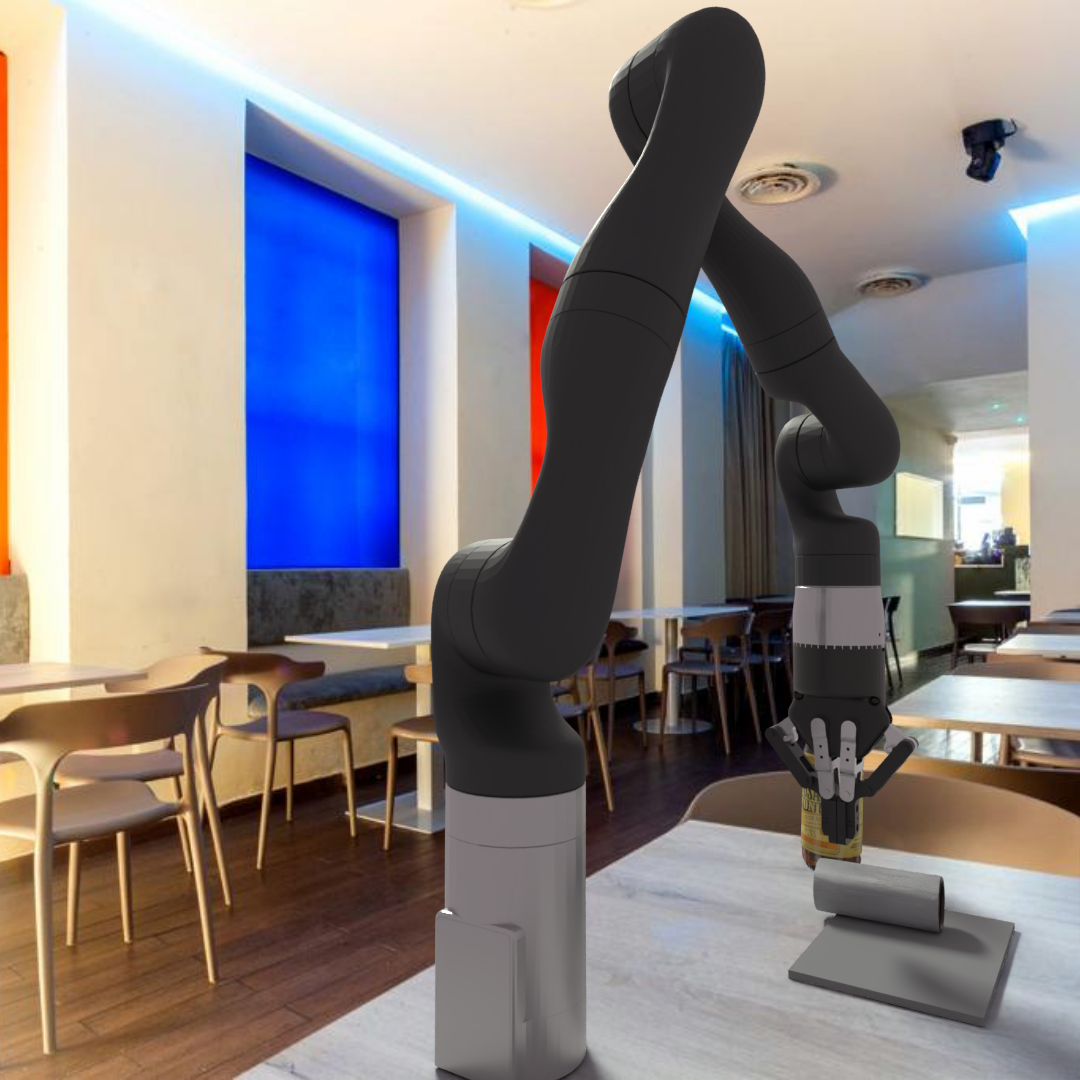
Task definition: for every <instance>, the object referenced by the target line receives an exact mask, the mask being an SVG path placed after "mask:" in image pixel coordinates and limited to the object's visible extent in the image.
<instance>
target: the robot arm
mask: <svg viewBox="0 0 1080 1080" xmlns="http://www.w3.org/2000/svg"><path fill="white" fill-rule="evenodd" d="M754 29H755V28H753V26H752V25H751V23H750V22H749V21H748V19H746V18H745V17H744V16H743V15H741V14H740V13H739V12H738V11H735V10H733V9H731V8H728V7H723V6H708V7H702V8H701V9H697V10H696V11H693V12H690V13H688V14H686V15H684V16H683V17H681V18H680V19H678V20H676V21H675V22H673V23H672V24H670V25H669V26H668V27H667V28H666V29H664V30H663V31H662V32H661V33H659V34H658V35H657V36H656V37H654V38H653V39H652V40H651V41H650V42H648V43H647V44H646V45H644V46H643V47H642V48H640V49H639V50H637V52H636V53H634V54H633V55H632V56H630V57H629V58H628V59H627V60H625V61H624V62H623V63H622V65H621V66H620V67H619V68H618V69H617V70H616V72H615V73H614V75H613V77H612V79H611V82H610V85H609V88H608V96H607V99H608V111H609V113H608V114H609V117H610V120H611V122H612V123H611V124H612V126H613V129H614V132H615V133H616V136H617V138H618V142H619V143H620V144H621V147H622V149H623V151H624V152H625V154H626V156H627V158H628V159H629V160H630V162H631V164H632V166H633V169H632V171H631V172H630V174H629V175H628V177H627V178H626V179H625V180H624V183H623V184H622V185H621V187H620V188H619V190H618V191H617V192H616V193H615V195H614V197H613V198H612V200H611V201H610V202H609V203H608V204H607V206H606V208H605V209H604V210H603V212H602V213H601V215H600V216H599V218H597V220H596V222H595V223H594V224H593V226H592V228H591V229H590V231H589V232H588V234H587V236H586V237H585V239H584V240H583V242H582V244H581V246H580V247H579V249H578V250H577V252H576V254H575V255H574V257H573V258H572V260H571V263H570V264H569V267H568V269H567V271H566V273H565V275H564V278H563V281H562V283H561V286H560V289H559V292H558V294H557V297H556V301H555V303H554V307H553V309H552V313H551V315H550V318H549V320H548V324H547V326H546V330H545V335H544V337H543V338H544V339H543V342H542V346H541V351H540V359H539V360H540V361H539V363H540V364H539V370H540V371H539V373H540V375H539V376H540V383H541V384H540V385H541V394H542V401H543V402H542V403H543V408H544V415H545V427H546V438H545V439H546V442H545V448H544V449H545V450H544V455H543V460H542V463H541V467H540V471H539V474H538V478H537V480H536V483H535V485H534V489H533V492H532V494H531V497H530V501H529V503H528V506H527V507H526V508H527V509H526V511H525V513H524V516H523V518H522V521H521V522H520V525H519V527H518V529H517V531H516V533H515V535H514V537H505V538H504V537H502V538H490V539H484V540H479V541H474V542H472V543H469V544H467V545H465V546H464V547H462V548H461V549H460V548H459V550H457V552H455V553H454V554H453V555H452V556H451V557H450V558H449V559H448V561H447V562H446V563H445V565H444V566H443V568H442V569H441V572H440V574H439V577H438V579H437V581H436V585H435V588H434V591H433V597H432V603H431V612H430V613H431V614H430V615H431V616H430V653H431V654H430V656H431V683H432V684H431V685H432V688H431V689H432V707H433V708H432V710H433V711H432V713H433V724H434V729H435V734H436V737H437V740H438V742H439V745H440V748H441V750H442V753H443V757H444V758H443V759H444V764H445V765H444V766H445V768H444V769H445V770H444V771H445V774H444V775H445V776H444V777H445V817H444V818H445V821H444V822H445V823H444V824H445V827H444V828H445V829H444V830H445V831H444V836H445V837H444V840H445V841H444V908H442V909H441V910H439V911H437V913H436V915H435V919H434V920H435V924H434V925H435V927H434V929H435V933H434V937H435V939H434V940H435V941H434V943H435V945H434V947H435V948H434V956H435V957H434V976H435V977H434V1066H435V1067H437V1068H440V1069H443V1070H445V1071H448V1072H449V1073H453V1074H454V1075H458V1076H460V1077H461V1078H465V1079H468V1080H560V1079H561V1078H563V1077H566V1076H567V1075H569V1074H570V1073H572V1072H573V1071H574V1070H575V1069H577V1068H578V1067H579V1066H581V1063H582V1062H583V1061H584V1059H585V1057H586V1052H587V889H586V887H587V886H586V885H587V883H586V882H587V880H586V878H587V875H586V874H587V868H586V867H587V866H586V865H587V862H586V861H587V859H586V857H587V853H586V852H587V850H586V848H587V847H586V844H587V843H586V841H587V839H586V838H587V837H586V836H587V835H586V833H587V832H586V828H587V825H586V823H587V816H586V815H587V814H586V813H587V810H586V806H587V800H586V799H587V797H586V794H587V793H586V792H587V791H586V790H587V789H586V788H587V786H586V785H587V782H586V781H587V760H586V759H587V756H586V755H587V754H586V753H587V752H586V746H585V743H584V741H583V739H582V737H581V736H580V734H578V732H577V731H576V730H575V729H574V728H573V727H572V726H571V725H570V724H569V723H568V721H566V719H565V718H564V717H563V716H562V714H561V713H560V711H559V709H558V707H557V705H556V703H555V699H554V698H553V694H552V687H551V686H552V685H551V683H555V682H559V681H560V682H561V681H564V680H566V679H568V678H570V677H572V676H574V675H575V674H577V673H578V672H580V671H581V670H582V669H583V668H585V666H586V665H587V664H588V663H589V662H590V661H591V660H592V659H593V657H594V655H595V654H596V652H597V650H598V649H599V647H600V646H601V643H602V641H603V639H604V638H605V634H606V632H607V629H608V626H609V623H610V621H611V616H612V611H613V608H614V604H615V603H614V602H615V599H616V595H617V589H618V585H619V580H620V573H621V568H622V563H623V558H624V557H623V556H624V552H625V547H626V546H625V545H626V541H627V536H628V531H629V525H630V520H631V515H632V509H633V505H634V500H635V496H636V495H635V494H636V491H637V487H638V484H639V481H640V480H639V479H640V476H641V472H642V468H643V466H644V465H643V464H644V462H645V458H646V454H647V450H648V447H649V444H650V439H651V437H652V436H651V435H652V434H653V433H652V432H653V429H654V424H655V421H656V418H657V413H658V410H659V408H660V404H661V400H662V397H663V394H664V391H665V388H666V385H667V383H668V379H669V377H670V373H671V372H672V369H673V365H674V362H675V359H676V355H677V353H678V348H679V346H680V341H681V339H682V335H683V332H684V329H685V326H686V321H687V318H688V314H689V310H690V304H691V303H692V298H693V294H694V290H695V288H696V284H697V281H698V278H699V276H700V272H701V271H703V273H704V274H705V276H706V278H707V279H708V281H709V282H710V284H711V285H712V287H713V289H714V291H715V293H716V294H717V295H718V298H719V300H720V302H721V304H722V305H723V307H724V308H725V311H726V313H727V314H728V315H727V316H728V317H729V319H730V321H731V323H732V325H733V327H734V330H735V332H736V334H737V336H738V338H739V340H740V343H741V345H742V347H743V350H744V351H745V352H744V353H745V354H746V356H747V359H748V361H749V363H750V365H751V367H752V369H753V371H754V372H755V373H754V374H755V375H756V378H757V380H758V382H759V384H760V386H761V388H762V389H763V391H764V393H765V394H766V395H767V396H768V397H769V398H771V399H774V400H778V401H785V402H793V403H798V404H800V405H802V406H804V407H806V408H807V409H808V410H809V412H810V413H809V412H808V413H804V414H799V415H798V416H795V417H793V418H791V419H790V420H789V421H788V422H786V423H785V425H784V426H783V428H782V429H781V430H780V433H779V435H778V437H777V441H776V444H775V448H774V460H773V461H774V468H775V474H776V478H777V481H778V485H779V490H780V493H781V496H782V500H783V503H784V506H785V512H786V514H787V519H788V522H789V525H790V527H791V531H792V534H793V537H794V543H795V547H794V555H795V556H794V567H795V568H794V569H795V570H794V574H795V576H794V577H795V578H794V580H795V581H794V583H795V587H794V588H795V589H794V601H793V605H792V606H793V608H792V655H793V656H792V657H793V659H792V662H793V663H792V664H793V667H792V669H793V673H792V674H793V679H792V680H793V699H792V702H791V704H790V706H789V707H788V713H787V714H788V716H787V717H786V718H784V719H783V720H782V721H780V722H778V723H777V724H774V725H773V726H770V727H768V728H766V730H765V731H764V736H765V739H766V740H767V741H768V743H769V744H770V745H771V747H772V748H773V750H774V751H775V752H776V754H777V756H779V758H780V760H781V761H782V762H783V764H784V765H785V766H786V768H787V769H788V770H789V772H790V773H791V775H792V777H794V779H795V781H796V782H797V784H798V785H799V786H800V787H801V789H802V788H805V789H807V788H808V789H810V790H812V791H814V792H816V793H817V794H818V795H819V796H820V798H821V829H822V832H823V834H824V835H827V836H828V839H829V843H833V844H840V845H846V846H847V845H848V844H849V843H850V842H851V841H852V839H854V838H855V837H856V836H857V835H858V832H859V800H860V798H863V799H864V798H873V797H874V796H875V795H876V794H877V793H878V792H880V791H881V790H882V789H883V788H884V787H885V786H886V784H887V783H888V782H889V781H890V780H891V779H892V778H893V776H895V774H896V773H897V772H898V771H899V770H900V768H902V766H903V765H904V764H905V763H906V762H907V761H908V759H909V758H910V757H911V756H912V755H913V754H914V753H915V752H916V751H917V749H918V748H919V746H920V745H919V740H918V739H917V738H916V737H915V736H912V735H907V734H906V733H904V732H903V731H902V730H901V729H900V728H898V727H897V726H896V725H894V723H893V721H894V720H893V714H892V712H891V710H890V709H889V707H888V705H887V701H886V700H887V698H886V696H887V694H886V690H887V689H886V688H887V687H886V637H887V627H886V625H885V610H884V602H883V597H882V587H881V585H882V584H881V583H882V580H881V577H882V576H881V573H882V571H881V539H880V531H879V529H878V526H877V525H876V524H875V523H874V522H873V521H872V520H870V519H867V518H863V517H859V516H854V515H848V514H846V513H845V512H844V510H843V507H842V505H841V502H840V500H839V497H838V493H837V490H845V489H856V488H866V487H872V486H876V485H878V484H881V483H883V482H885V481H886V480H887V479H888V478H889V477H891V476H892V474H893V473H894V472H895V470H896V468H897V466H898V463H899V461H900V457H901V438H900V437H901V436H900V432H899V429H898V426H897V423H896V421H895V419H894V417H893V415H892V413H891V411H890V410H889V408H888V407H887V405H886V404H885V403H884V401H883V400H882V399H881V397H880V396H879V395H878V393H876V391H875V390H874V389H873V388H872V387H871V385H870V384H869V383H868V382H867V380H866V379H865V378H864V377H863V375H862V374H861V372H860V371H859V369H857V368H856V366H855V365H854V364H853V363H852V361H851V360H850V359H849V358H848V357H847V356H846V354H845V353H844V352H843V350H842V349H841V348H840V345H839V343H838V340H837V338H836V336H835V334H834V330H833V328H832V326H831V324H830V322H829V320H828V319H829V318H828V317H827V314H826V311H825V310H824V307H823V305H822V302H821V300H820V298H819V296H818V293H817V292H816V290H815V288H814V286H813V285H814V284H812V282H811V281H810V279H809V278H808V276H807V274H806V273H805V272H804V270H803V269H802V268H801V267H800V266H799V264H798V263H797V262H796V261H795V260H794V259H793V258H792V257H791V256H790V255H789V254H788V253H787V252H786V251H785V250H783V249H782V248H781V247H780V246H778V244H777V243H775V242H774V241H773V240H771V239H770V238H769V237H768V236H767V235H765V234H764V233H763V232H762V231H760V229H759V228H757V227H756V226H755V225H754V224H753V223H752V222H751V221H749V220H748V218H746V217H745V216H744V215H743V214H742V213H741V212H740V210H739V209H737V208H736V207H735V206H734V204H733V203H732V202H731V200H730V199H729V197H728V196H727V195H726V193H727V191H728V188H729V186H730V183H731V182H732V179H733V176H734V175H735V173H736V170H737V167H738V166H739V163H740V161H741V159H742V158H743V154H744V152H745V149H746V147H747V145H748V142H749V141H750V138H751V136H752V133H753V131H754V129H755V126H756V123H757V121H758V119H759V116H760V113H761V111H762V107H763V102H764V98H765V91H766V76H767V75H766V63H765V62H766V61H765V57H764V52H763V49H762V46H761V42H760V39H759V37H758V35H757V33H756V31H755V30H754ZM701 269H702V270H701ZM797 732H798V733H797ZM799 735H800V737H801V738H802V739H803V741H804V743H805V745H806V744H807V745H808V747H809V748H810V749H811V751H813V752H814V757H815V767H814V766H813V764H812V763H811V761H810V760H809V759H808V757H807V756H806V755H805V753H804V752H803V751H804V749H803V748H802V747H801V746H800V744H798V739H799ZM883 737H885V740H886V741H885V743H884V744H883V750H884V752H885V753H886V755H887V756H886V757H885V759H883V760H882V761H881V763H880V764H879V765H878V766H877V767H876V768H875V770H873V771H872V773H871V774H870V775H869V777H868V778H865V779H864V778H863V780H862V771H863V770H864V768H865V757H866V756H868V755H869V754H871V752H872V751H873V749H874V748H875V747H876V746H877V745H878V743H879V742H880V740H881V739H882V738H883ZM840 774H841V775H840Z"/></svg>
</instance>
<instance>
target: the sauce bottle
mask: <svg viewBox="0 0 1080 1080" xmlns="http://www.w3.org/2000/svg"><path fill="white" fill-rule="evenodd" d="M803 752H804V753H805V755H806V756H807V757H808V759H809V760H810V761H811V763H812V764H813V766H814V767H815V757H814V752H813V751H811V749H810V748H809V747H808V745H807V744H806V743H805V745H804V747H803ZM864 773H865V771H864V769H863V771H862V780H864ZM840 775H841V774H840ZM863 809H864V797H863V798H860V800H859V832H858V835H857V836H856V837H855V838H854V839H852V841H851V842H850V843H849V844H848V845H847V846H846V845H840V844H833V843H829V839H828V836H827V835H824V834H823V832H822V829H821V798H820V796H819V795H818V794H817V793H816V792H814V791H812V790H810V789H808V788H807V789H805V788H802V787H801V819H800V821H801V826H800V827H801V829H800V844H801V856H802V858H803V860H804V862H805V863H806V864H807V865H810V866H811V867H813V868H815V867H816V863H817V861H818V859H819V858H826V859H833V860H840V861H846V862H853V863H859V864H862V863H861V862H862V856H861V855H862V852H863V832H864V831H863V828H864V827H863V825H864V823H863V819H864V818H863V816H864V814H863V812H864V810H863Z"/></svg>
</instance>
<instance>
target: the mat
mask: <svg viewBox="0 0 1080 1080" xmlns="http://www.w3.org/2000/svg"><path fill="white" fill-rule="evenodd" d="M1014 929H1015V922H1013V921H1007V920H1002V919H996V918H991V917H986V916H980V915H975V914H970V913H964V912H960V911H954V910H949V909H945V916H944V927H943V931H942V932H941V933H939V932H933V931H928V930H922V929H917V928H911V927H906V926H900V925H895V924H889V923H884V922H878V921H873V920H867V919H862V918H856V917H851V916H845V915H840V914H835V915H834V916H833V917H832V918H831V919H830V921H828V923H827V924H826V925H825V926H824V928H822V930H821V931H820V933H818V934H817V936H816V937H814V939H813V940H812V941H811V943H810V944H809V945H808V946H807V947H806V949H805V950H804V951H803V952H802V953H801V954H800V956H799V957H798V958H796V960H795V961H794V963H792V965H791V966H790V967H789V968H788V969H787V973H788V975H787V977H788V978H789V979H791V980H794V981H795V980H796V981H800V982H803V983H807V984H811V985H815V986H820V987H823V988H828V989H830V990H831V989H832V990H835V991H838V992H842V993H847V994H851V995H856V996H859V997H863V998H867V999H870V1000H875V1001H879V1002H883V1003H886V1004H892V1005H895V1006H899V1007H903V1008H906V1009H911V1010H915V1011H919V1012H923V1013H926V1014H929V1015H930V1014H931V1015H934V1016H939V1017H943V1018H947V1019H951V1020H955V1021H959V1022H962V1023H965V1024H966V1023H967V1024H970V1025H975V1026H978V1027H982V1028H984V1027H985V1025H986V1022H987V1019H988V1015H989V1013H990V1009H991V1006H992V1003H993V999H994V998H995V997H994V996H995V993H996V989H997V986H998V984H999V981H1000V977H1001V974H1002V971H1003V968H1004V965H1005V961H1006V959H1007V956H1008V952H1009V949H1010V947H1011V943H1012V940H1013V937H1012V935H1013V936H1014V933H1015V930H1014ZM1013 932H1014V933H1013ZM1011 939H1012V940H1011ZM1010 942H1011V943H1010Z"/></svg>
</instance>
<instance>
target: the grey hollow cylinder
mask: <svg viewBox="0 0 1080 1080" xmlns="http://www.w3.org/2000/svg"><path fill="white" fill-rule="evenodd" d="M944 881H945V880H944V877H943V876H942V875H937V874H930V873H926V872H925V873H924V872H918V871H910V870H904V869H897V868H891V867H884V866H878V865H872V864H871V865H870V864H865V863H860V864H859V863H853V862H846V861H840V860H833V859H826V858H819V859H818V861H817V863H816V867H814V873H813V882H812V884H813V885H812V886H813V887H812V893H813V894H812V895H813V897H812V898H813V903H814V907H815V909H816V910H817V911H819V912H825V913H829V914H835V915H836V914H840V915H845V916H851V917H856V918H862V919H867V920H873V921H878V922H884V923H889V924H895V925H900V926H906V927H911V928H917V929H922V930H928V931H933V932H939V933H941V932H942V931H943V927H944V916H945V910H946V894H945V893H946V891H945V890H946V889H945V882H944Z"/></svg>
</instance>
